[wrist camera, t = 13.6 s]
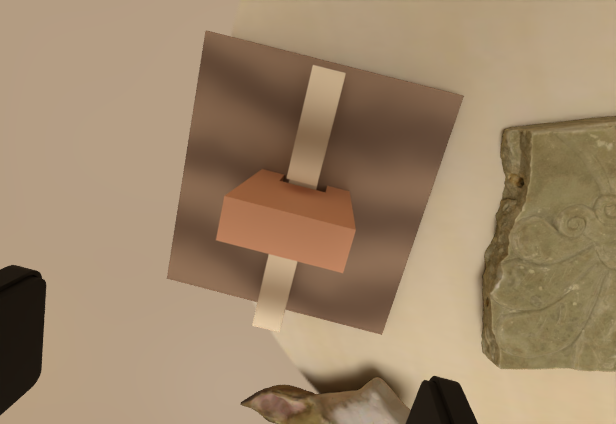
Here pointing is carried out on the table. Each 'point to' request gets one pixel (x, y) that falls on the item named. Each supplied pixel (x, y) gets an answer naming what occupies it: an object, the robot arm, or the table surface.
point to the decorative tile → (554, 250)
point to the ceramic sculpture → (330, 405)
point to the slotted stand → (308, 175)
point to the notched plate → (289, 221)
